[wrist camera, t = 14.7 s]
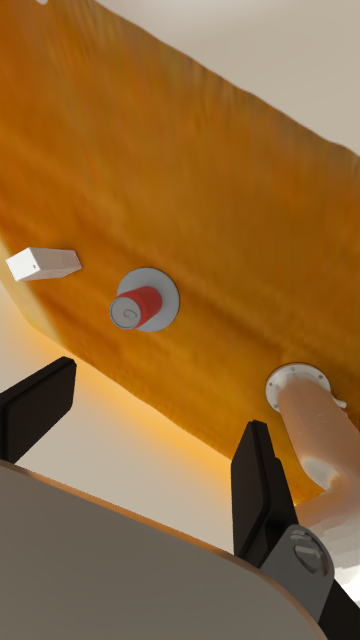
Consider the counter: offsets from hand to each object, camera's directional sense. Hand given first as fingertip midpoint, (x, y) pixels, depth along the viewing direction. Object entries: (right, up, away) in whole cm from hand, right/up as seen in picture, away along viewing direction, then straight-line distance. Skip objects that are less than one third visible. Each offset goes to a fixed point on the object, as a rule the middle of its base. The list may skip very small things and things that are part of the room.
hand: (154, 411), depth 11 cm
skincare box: (-24, +17, +38) cm, 49 cm away
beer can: (-6, +9, +36) cm, 38 cm away
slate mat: (-6, +9, +37) cm, 38 cm away
